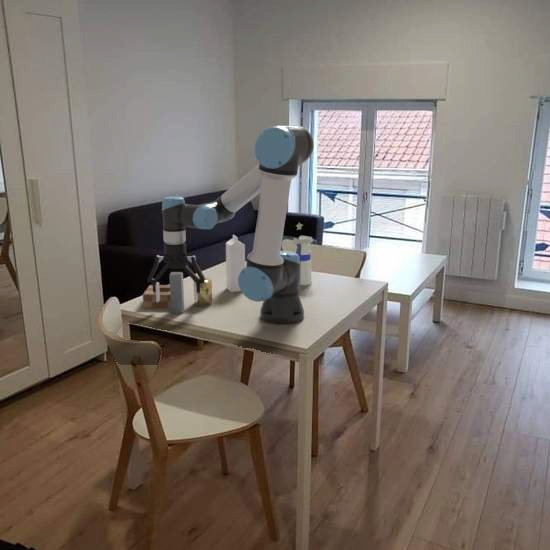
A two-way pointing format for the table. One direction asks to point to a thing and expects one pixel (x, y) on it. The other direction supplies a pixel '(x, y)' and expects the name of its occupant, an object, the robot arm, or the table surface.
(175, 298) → the square bit
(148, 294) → the socket block
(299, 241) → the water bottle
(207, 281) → the round bit
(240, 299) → the table surface
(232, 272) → the milk
